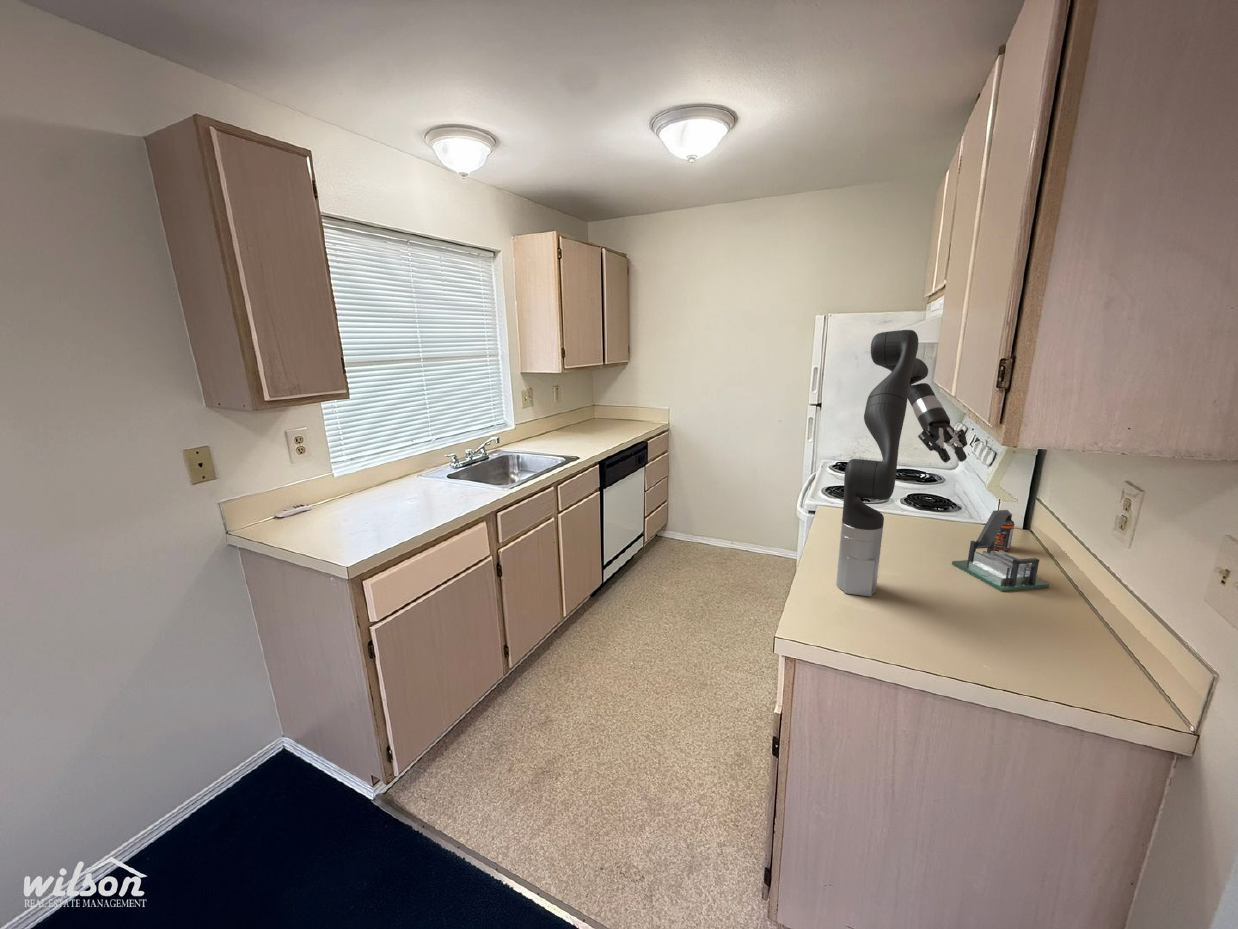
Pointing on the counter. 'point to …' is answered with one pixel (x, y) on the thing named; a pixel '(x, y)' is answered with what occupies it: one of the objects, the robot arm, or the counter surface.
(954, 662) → the counter surface
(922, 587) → the counter surface
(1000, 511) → the retention strap
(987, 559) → the heatsink
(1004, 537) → the supplement bottle
